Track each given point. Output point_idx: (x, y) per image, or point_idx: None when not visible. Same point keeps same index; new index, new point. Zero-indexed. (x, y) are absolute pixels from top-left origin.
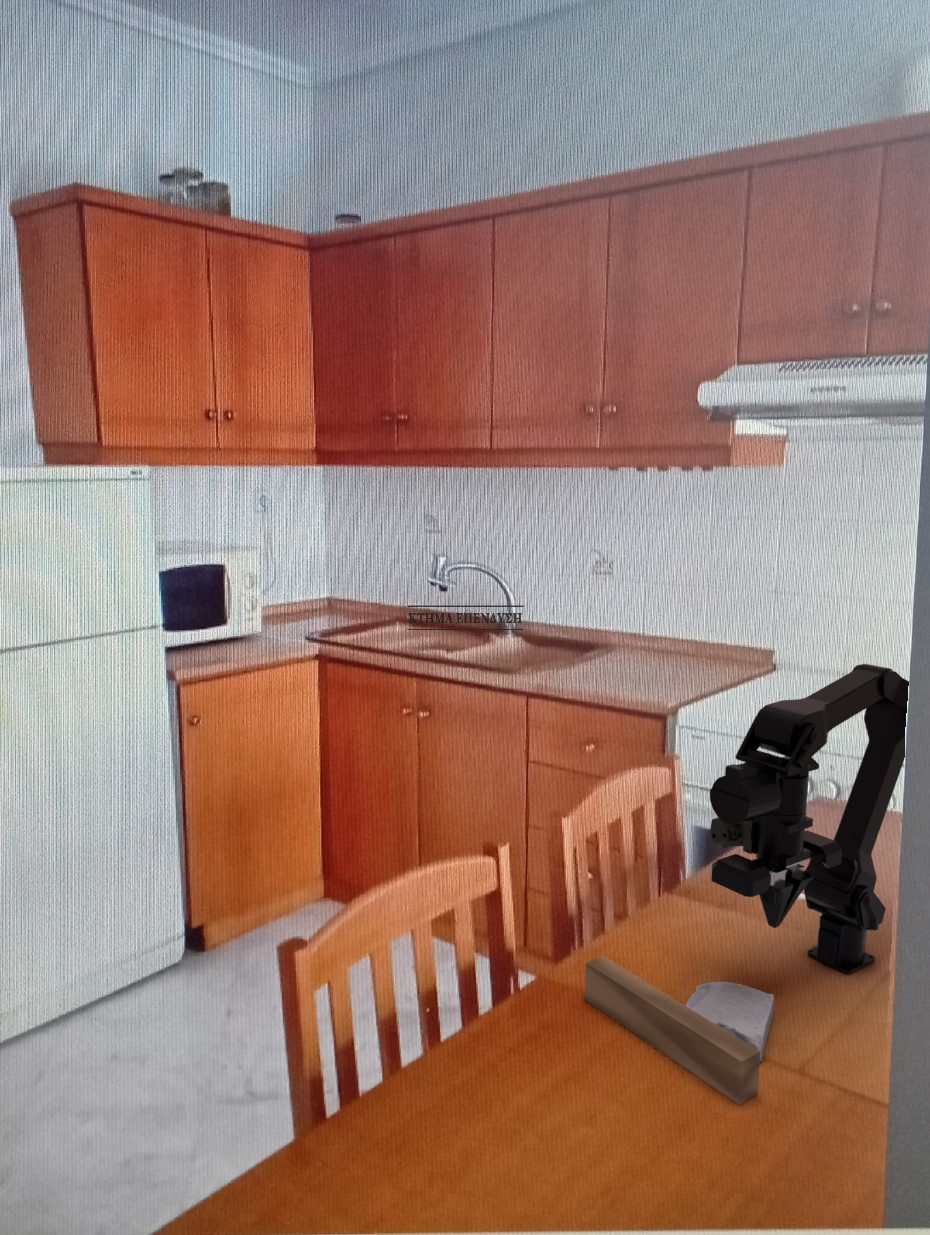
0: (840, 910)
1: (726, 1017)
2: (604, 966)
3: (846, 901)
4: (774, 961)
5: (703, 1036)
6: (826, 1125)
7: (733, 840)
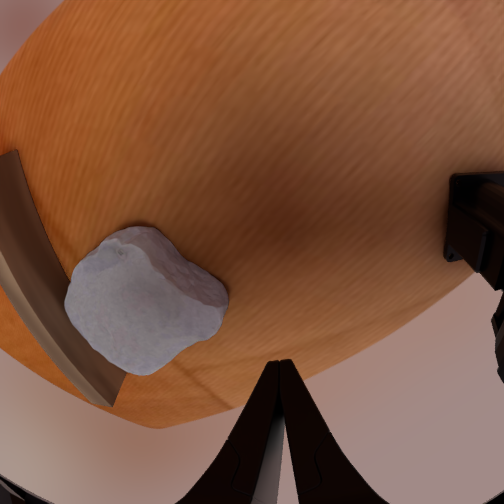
0: (500, 338)
1: (104, 347)
2: None
3: (501, 378)
4: (383, 156)
5: (62, 371)
6: (169, 404)
7: None
